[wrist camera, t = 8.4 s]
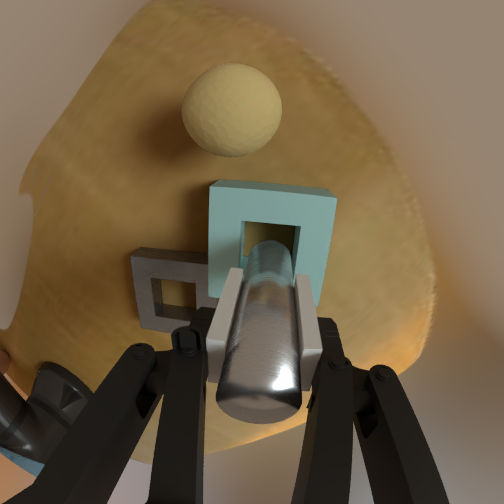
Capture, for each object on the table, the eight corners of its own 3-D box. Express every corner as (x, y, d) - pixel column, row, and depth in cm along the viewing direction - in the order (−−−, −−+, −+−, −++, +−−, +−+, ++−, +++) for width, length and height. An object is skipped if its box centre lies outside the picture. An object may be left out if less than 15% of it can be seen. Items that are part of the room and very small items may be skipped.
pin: (247, 276, 22) (216, 418, 10) (250, 237, 21) (214, 370, 9) (288, 280, 22) (293, 425, 10) (293, 242, 20) (310, 378, 8)
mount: (149, 315, 32) (141, 327, 29) (140, 247, 28) (130, 256, 26) (220, 326, 31) (216, 340, 29) (222, 255, 28) (217, 265, 25)
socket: (216, 276, 29) (208, 296, 25) (219, 179, 25) (209, 186, 21) (312, 285, 28) (317, 306, 25) (328, 189, 24) (337, 198, 21)
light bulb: (294, 118, 22) (307, 102, 13) (244, 167, 24) (225, 182, 15) (242, 72, 21) (222, 33, 12) (194, 122, 23) (147, 112, 14)
